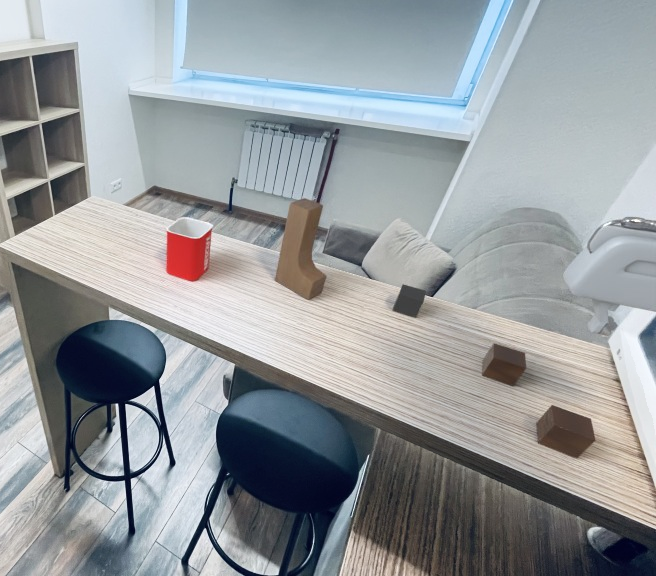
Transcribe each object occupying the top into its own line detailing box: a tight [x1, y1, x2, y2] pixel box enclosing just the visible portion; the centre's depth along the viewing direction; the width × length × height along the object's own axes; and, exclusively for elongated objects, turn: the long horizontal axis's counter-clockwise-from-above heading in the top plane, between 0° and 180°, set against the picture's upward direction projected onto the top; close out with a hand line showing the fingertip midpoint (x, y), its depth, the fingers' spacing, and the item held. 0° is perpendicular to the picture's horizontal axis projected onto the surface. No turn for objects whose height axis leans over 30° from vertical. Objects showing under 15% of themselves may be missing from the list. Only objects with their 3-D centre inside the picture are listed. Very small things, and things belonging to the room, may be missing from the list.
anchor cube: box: [392, 284, 427, 319], centre depth 78 cm, size 4×4×4 cm
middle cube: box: [481, 342, 527, 387], centre depth 64 cm, size 4×4×4 cm
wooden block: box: [274, 197, 328, 301], centre depth 81 cm, size 9×4×18 cm, turn 34°
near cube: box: [535, 404, 596, 459], centre depth 54 cm, size 4×4×4 cm
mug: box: [165, 216, 214, 282], centre depth 90 cm, size 12×8×11 cm
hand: (652, 343), depth 46 cm, fingers open, 8 cm apart
